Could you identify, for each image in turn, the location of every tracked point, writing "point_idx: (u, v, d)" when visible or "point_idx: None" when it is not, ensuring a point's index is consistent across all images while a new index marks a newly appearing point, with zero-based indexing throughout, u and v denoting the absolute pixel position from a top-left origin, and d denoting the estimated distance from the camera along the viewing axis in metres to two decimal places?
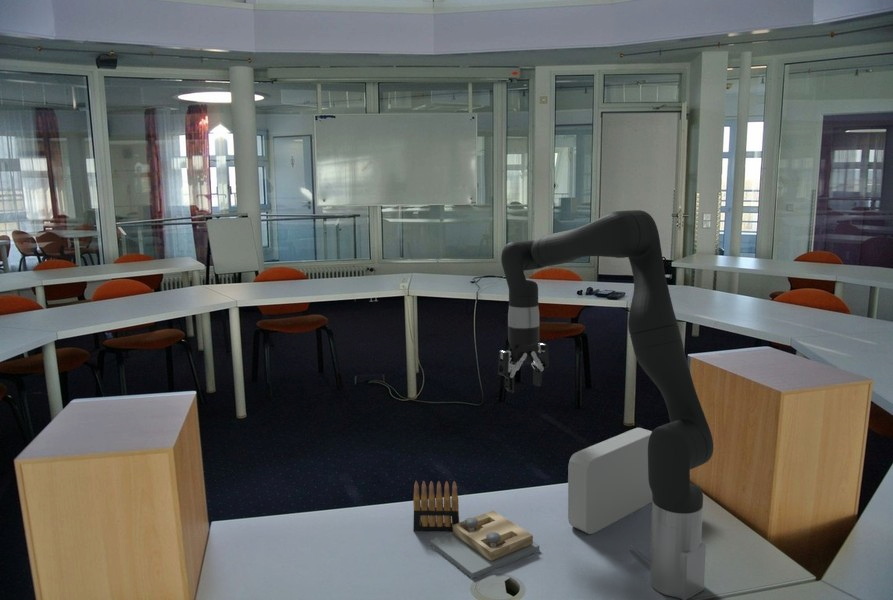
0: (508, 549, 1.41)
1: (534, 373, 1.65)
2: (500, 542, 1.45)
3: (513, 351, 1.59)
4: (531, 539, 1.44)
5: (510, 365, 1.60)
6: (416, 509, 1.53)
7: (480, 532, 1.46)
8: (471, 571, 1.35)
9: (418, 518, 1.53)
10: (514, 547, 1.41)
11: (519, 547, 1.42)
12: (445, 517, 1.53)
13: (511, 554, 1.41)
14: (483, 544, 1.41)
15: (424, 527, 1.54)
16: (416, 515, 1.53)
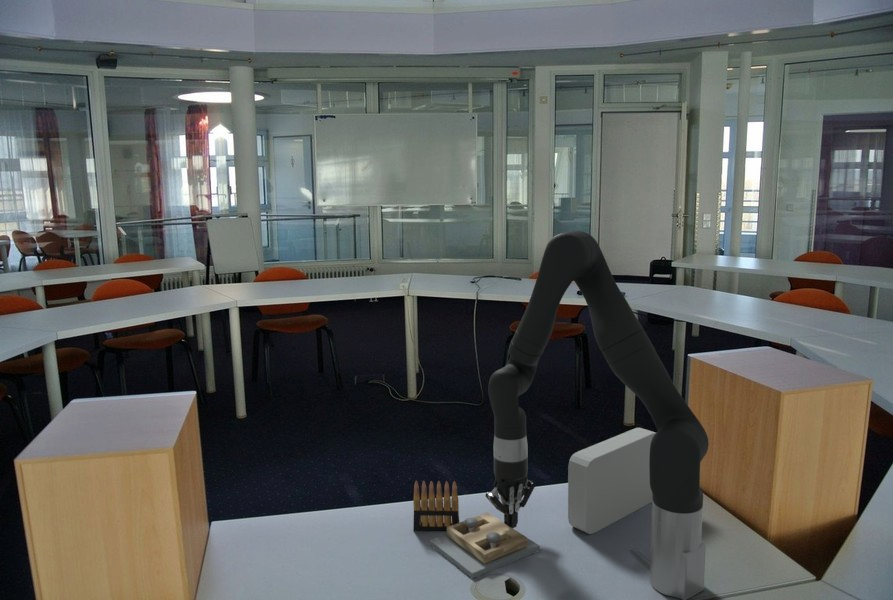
0: (502, 551, 1.40)
1: None
2: None
3: (498, 488, 1.45)
4: (525, 541, 1.43)
5: (504, 501, 1.48)
6: (416, 509, 1.53)
7: (474, 534, 1.45)
8: (471, 571, 1.35)
9: (418, 518, 1.53)
10: (508, 549, 1.41)
11: (513, 549, 1.41)
12: (445, 517, 1.53)
13: (511, 554, 1.41)
14: (477, 546, 1.40)
15: (424, 527, 1.54)
16: (416, 515, 1.53)
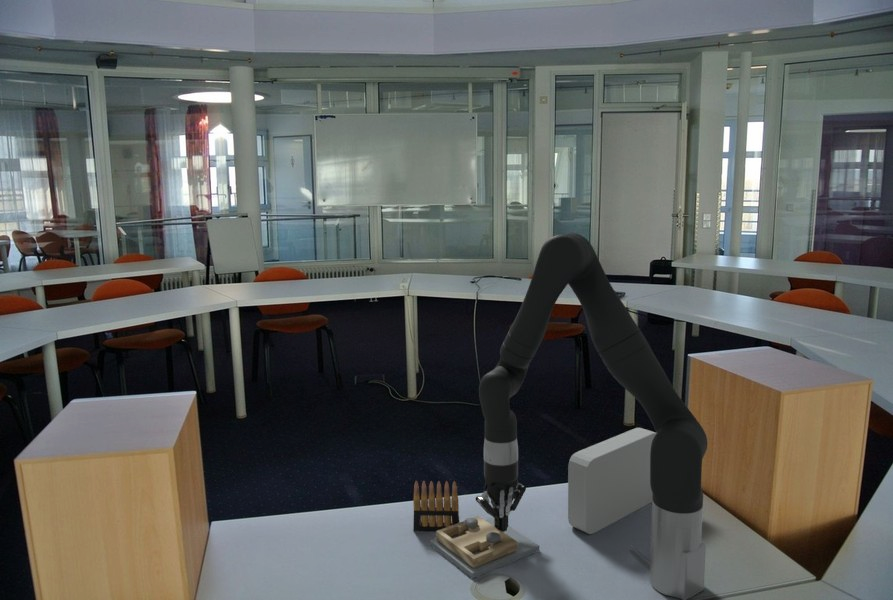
0: (491, 556, 1.38)
1: None
2: (484, 548, 1.42)
3: (488, 492, 1.44)
4: (515, 545, 1.41)
5: (494, 505, 1.47)
6: (416, 509, 1.53)
7: (464, 538, 1.43)
8: (471, 571, 1.35)
9: (418, 518, 1.53)
10: (498, 554, 1.39)
11: (503, 554, 1.40)
12: (445, 517, 1.53)
13: (511, 554, 1.41)
14: (466, 551, 1.38)
15: (424, 527, 1.54)
16: (416, 515, 1.53)
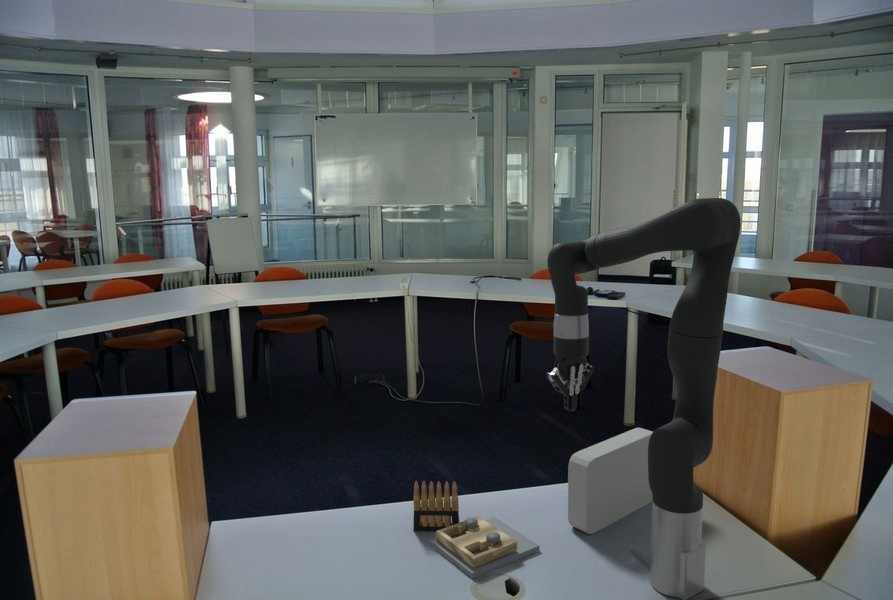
0: (491, 556, 1.38)
1: None
2: (484, 548, 1.42)
3: (559, 367, 1.43)
4: (515, 545, 1.41)
5: (564, 383, 1.46)
6: (416, 509, 1.53)
7: (464, 538, 1.43)
8: (471, 571, 1.35)
9: (418, 518, 1.53)
10: (498, 554, 1.39)
11: (503, 554, 1.40)
12: (445, 517, 1.53)
13: (511, 554, 1.41)
14: (466, 551, 1.38)
15: (424, 527, 1.54)
16: (416, 515, 1.53)
